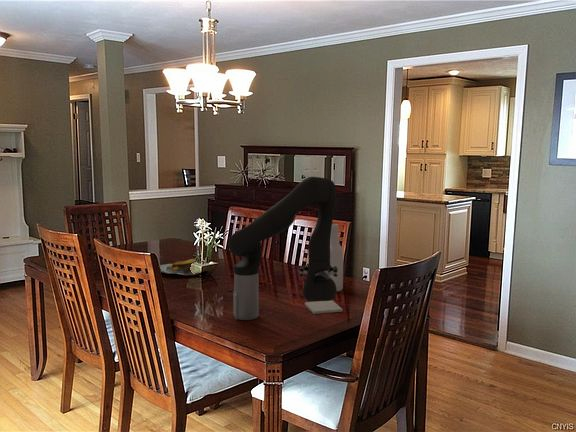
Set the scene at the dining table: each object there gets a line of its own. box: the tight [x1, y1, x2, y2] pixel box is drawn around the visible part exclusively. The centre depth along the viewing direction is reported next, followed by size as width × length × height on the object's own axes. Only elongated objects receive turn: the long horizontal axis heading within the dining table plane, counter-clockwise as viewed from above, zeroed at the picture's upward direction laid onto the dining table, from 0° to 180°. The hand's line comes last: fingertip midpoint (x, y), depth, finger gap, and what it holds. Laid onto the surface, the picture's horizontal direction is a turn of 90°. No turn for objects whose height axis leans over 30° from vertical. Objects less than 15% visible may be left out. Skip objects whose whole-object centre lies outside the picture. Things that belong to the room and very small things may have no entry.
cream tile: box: [304, 299, 343, 315], centre depth 212 cm, size 12×12×1 cm
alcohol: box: [330, 223, 345, 293], centre depth 237 cm, size 9×9×30 cm
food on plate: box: [159, 258, 199, 276], centre depth 268 cm, size 25×25×7 cm
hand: (318, 266), depth 199 cm, fingers closed on supplement box, 7 cm apart
